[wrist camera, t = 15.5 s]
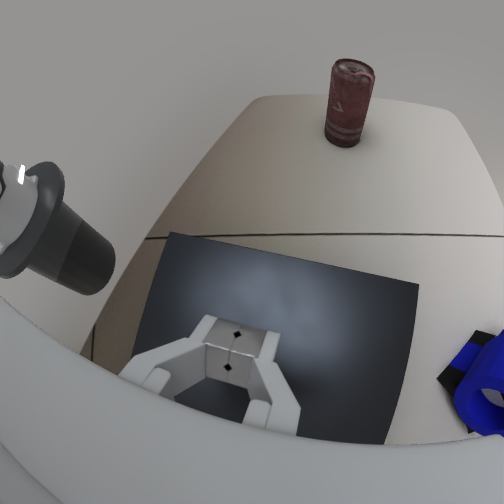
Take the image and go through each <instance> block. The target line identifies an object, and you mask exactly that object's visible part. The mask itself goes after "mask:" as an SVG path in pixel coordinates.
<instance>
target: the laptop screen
mask: <svg viewBox="0 0 504 504" xmlns="http://www.w3.org/2000/svg"><path fill="white" fill-rule="evenodd" d="M418 290H419V284H416V283H411V282H406V281H402V280H397V279H392V278H388V277H383V276H378V275H374V274H369V273H365V272H360V271H355V270H351V269H346V268H341V267H336V266H332V265H327V264H322V263H318V262H313V261H308V260H304V259H299V258H294V257H289V256H285V255H280V254H275V253H271V252H266V251H261V250H256V249H252V248H247V247H242V246H237V245H232V244H228V243H223V242H218V241H213V240H209V239H204V238H199V237H194V236H189V235H185V234H180V233H175V232H170V233H169V236H168V239H167V241H166V244H165V247H164V250H163V253H162V255H161V258H160V261H159V264H158V267H157V270H156V273H155V276H154V279H153V282H152V285H151V289H150V292H149V295H148V298H147V302H146V305H145V308H144V312H143V315H142V318H141V322H140V326H139V329H138V333H137V337H136V340H135V344H134V348H133V352H132V356H131V359H132V358H133V357H134V356H135V355H138V354H141V353H144V352H147V351H149V350H152V349H155V348H158V347H161V346H163V345H166V344H169V343H171V342H174V341H177V340H179V339H182V338H189V337H190V335H191V334H192V333H193V331H194V330H195V328H196V327H197V325H198V324H199V323H200V321H201V320H202V318H203V317H204V316H205V315H211V316H214V317H217V318H221V319H225V320H228V321H232V322H235V323H239V324H242V325H246V326H250V327H254V328H258V329H262V330H267V331H273V332H278V333H280V339H279V343H278V347H277V351H276V355H275V359H274V362H275V363H277V365H278V366H279V368H280V370H281V372H282V374H283V376H284V378H285V380H286V382H287V383H288V385H289V387H290V389H291V391H292V393H293V395H294V396H295V398H296V400H297V402H298V404H299V406H300V407H301V410H300V416H299V422H298V427H297V432H296V436H299V437H305V438H311V439H318V440H326V441H335V442H345V443H357V444H377V445H383V444H384V442H385V439H386V436H387V433H388V431H389V428H390V425H391V422H392V419H393V416H394V412H395V409H396V406H397V402H398V399H399V395H400V392H401V388H402V384H403V380H404V376H405V371H406V367H407V362H408V358H409V353H410V347H411V342H412V336H413V330H414V324H415V316H416V309H417V300H418ZM174 398H175V402H177V403H179V404H182V405H185V406H187V407H190V408H193V409H196V410H198V411H201V412H204V413H207V414H210V415H213V416H216V417H220V418H223V419H226V420H230V421H233V422H237V423H240V424H242V422H243V419H244V416H245V414H246V411H247V408H248V406H249V403H250V401H251V400H250V397H249V393H248V390H247V389H246V388H242V387H239V386H236V385H233V384H229V383H226V382H223V381H219V380H215V379H212V378H208V377H205V378H204V379H203V380H201V381H199V382H198V383H196V384H194V385H193V386H191V387H189V388H188V389H186V390H184V391H183V392H181V393H179V394H177V395H176V396H174Z"/></svg>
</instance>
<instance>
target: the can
mask: <svg viewBox="0 0 504 504" xmlns="http://www.w3.org/2000/svg"><path fill="white" fill-rule="evenodd" d="M374 81H375V75H374V71H373V69H372V68H371V67H370V66H369V65H367V64H365V63H363V62H361V61H358V60H354V59H339V60H337V61H336V62H335V64H334V65H333V67H332V72H331V82H330V90H329V99H328V107H327V115H326V122H325V134H326V136H327V138H328V139H329V140H330V141H331V142H332V143H334V144H335V145H338V146H341V147H351V146H353V145H355V144H357V143H358V142H359V140H360V136H361V133H362V129H363V125H364V122H365V118H366V114H367V110H368V106H369V102H370V98H371V94H372V90H373V85H374Z"/></svg>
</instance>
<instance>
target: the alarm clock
mask: <svg viewBox="0 0 504 504" xmlns="http://www.w3.org/2000/svg"><path fill="white" fill-rule="evenodd" d="M437 379H438V380H439V382H440V383H441V384H442V385H443V386H444V387H445V388H446V389H447V390H448V392H449V393H450V394H451V395H452V396H453V397H454V405H455V407H456V410H457V413H458V414H459V416H460V417H461V419H462V420H463V422H464V423H465V424H466V425H468V433H472V432H474V431H475V432H477V433H479V434H480V435H483V436H488V435H493V434H499V435H501V436H503V437H504V330H502V332H501V333H500V334H499V336H496V335H492V334H489V333H485V332H482V331H478V330H476V331H475V332H474V334H473V335H472V337H471V338H470V339H469V341H468V342H467V343H466V344H465V346H464V347H463V348H462V350H461V351H460V352H459V353H458V355H457V356H456V357H455V358H454V359H453V361H452V362H451V363H450V364H449V365H448V366H447V368H446V369H445V370H444V371H443V372H442V373H441V374H440V375H439V376H438V378H437Z"/></svg>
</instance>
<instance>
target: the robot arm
mask: <svg viewBox="0 0 504 504" xmlns="http://www.w3.org/2000/svg"><path fill="white" fill-rule="evenodd" d="M37 183H38V177H37V176H36V175H34V176H30V177H27V176H26V175H25V174H24V166H23V165H22V166H21V171H20V170H19V169H18V168H17V167H16V166H15V165H13V164H11V165H7V166H4V164H3V163H2V162H1V161H0V255H1V254H3V252H4V251H5V250H6V248H7V247H8V246H9V245H10V244H12V243H13V242H14V241H16V240H17V239H18V237H19V236H20V235H21V234H22V232H23V231H24V229H25V228H26V226H27V225H28V223H29V221H30V219H31V217H32V215H33V212H34V210H35V207H36V203H37V198H38V191H37ZM279 339H280V333H278V332H273V331H267V330H262V329H258V328H254V327H250V326H246V325H242V324H239V323H235V322H232V321H228V320H225V319H221V318H217V317H214V316H211V315H205V316H204V317H203V318H202V320H201V321H200V323H199V324H198V325H197V327H196V328H195V330H194V331H193V333H192V334H191V335H190V337H189V338H182V339H179V340H177V341H174V342H171V343H169V344H166V345H163V346H161V347H158V348H155V349H152V350H149V351H147V352H144V353H141V354H138V355H135V356H134V357H133V358H132V359H131V360H130V361H129V363H128V364H127V365H126V366H125V367H124V368H123V370H122V371H121V372H120V373H119V374H118V375H115V374H113V373H111V372H109V371H107V370H106V369H104V368H102V367H100V366H98V365H97V364H95V363H93V362H91V361H90V360H88V359H86V358H85V357H83V356H81V355H80V354H78V353H76V352H75V351H73V350H71V349H70V348H68V347H67V346H65V345H64V344H62V343H60V342H59V341H58V340H56V339H55V338H53V337H52V336H50V335H49V334H47V333H46V332H45V331H43V330H42V329H41V328H39V327H38V326H37V325H35V324H34V323H33V322H31V321H30V320H29V319H27V318H26V317H25V316H24V315H22V314H21V313H20V312H19V311H17V310H16V309H15V308H14V307H12V306H11V305H10V304H9V303H8V302H7V301H6V300H5V299H3V298H2V297H1V296H0V504H504V437H503V436H501V435H499V434H493V435H488V436H483V437H478V438H472V439H466V440H459V441H451V442H442V443H430V444H411V445H377V444H357V443H345V442H335V441H326V440H318V439H311V438H305V437H299V436H296V432H297V427H298V422H299V416H300V410H301V407H300V406H299V404H298V402H297V400H296V398H295V396H294V395H293V393H292V391H291V389H290V387H289V385H288V383H287V382H286V380H285V378H284V376H283V374H282V372H281V370H280V368H279V366H278V365H277V363H275V362H274V359H275V355H276V351H277V347H278V343H279ZM205 377H208V378H212V379H215V380H219V381H223V382H226V383H229V384H233V385H236V386H239V387H242V388H246V389H247V390H248V393H249V397H250V400H251V401H250V403H249V406H248V408H247V411H246V414H245V416H244V419H243V422H242V424H240V423H237V422H233V421H230V420H226V419H223V418H220V417H216V416H213V415H210V414H207V413H204V412H201V411H198V410H196V409H193V408H190V407H187V406H185V405H182V404H179V403H177V402H175V398H174V396H176V395H177V394H179V393H181V392H183V391H184V390H186V389H188V388H189V387H191V386H193V385H194V384H196V383H198V382H199V381H201V380H203V379H204V378H205Z"/></svg>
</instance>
